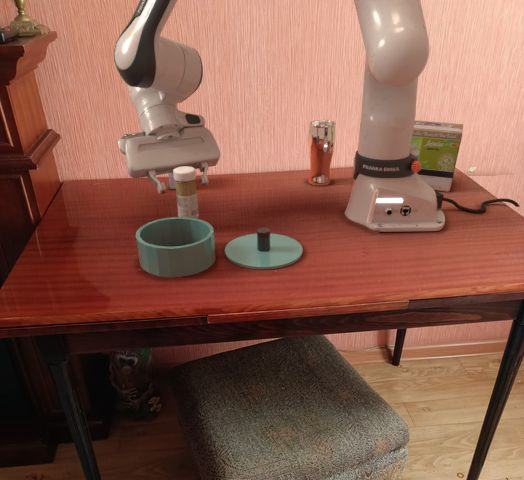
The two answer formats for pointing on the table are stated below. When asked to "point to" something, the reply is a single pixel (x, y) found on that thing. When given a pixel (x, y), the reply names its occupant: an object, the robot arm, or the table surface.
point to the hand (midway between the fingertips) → (184, 188)
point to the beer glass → (321, 151)
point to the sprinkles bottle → (186, 192)
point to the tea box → (436, 151)
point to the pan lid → (263, 250)
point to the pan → (177, 257)
